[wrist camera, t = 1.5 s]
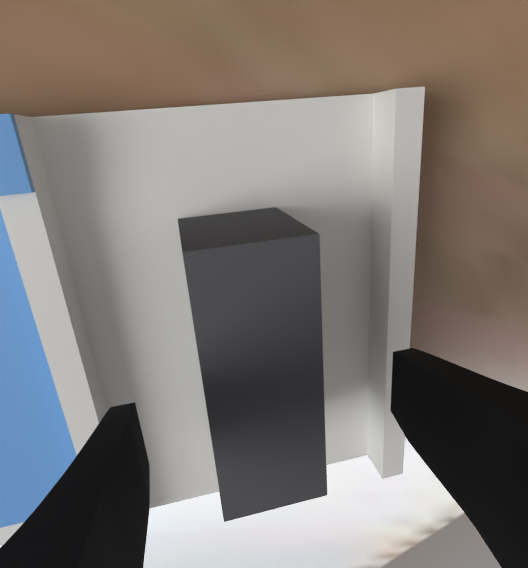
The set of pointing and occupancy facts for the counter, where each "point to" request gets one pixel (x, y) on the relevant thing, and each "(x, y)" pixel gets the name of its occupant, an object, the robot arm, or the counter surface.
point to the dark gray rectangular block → (259, 354)
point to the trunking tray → (172, 278)
